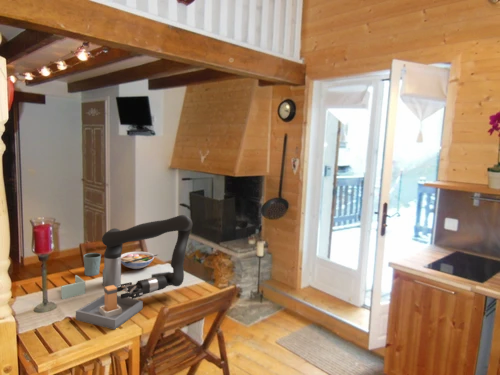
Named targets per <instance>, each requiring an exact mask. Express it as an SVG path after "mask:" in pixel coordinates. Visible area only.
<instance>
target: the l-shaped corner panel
mask: <svg viewBox="0 0 500 375" xmlns="http://www.w3.org/2000/svg"><path fill="white" fill-rule="evenodd" d="M74 278H75V279H74V281H75V282H74V283H70V284H66V285H62V286H61V288H60V289H61V300H65V299H66V300H67V299H70V298H73V297H77V296H81V295H85V294H86V281H85V280H84V279H83V278H81V277H80V276H79V275H77V274H75V275H74Z"/></svg>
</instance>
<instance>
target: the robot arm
mask: <svg viewBox="0 0 500 375" xmlns="http://www.w3.org/2000/svg"><path fill="white" fill-rule="evenodd" d="M193 225H194V224H193V220H192V219H191V218H190V217H189V216H187V215H186V214H181V215H177V216H173V217H170V218H167V219H162V220H161V219H160V220H154V221H149V222H144V223H140V224H138V225H134V226H132V227H129V228H127V229H123V230H120V229H118V228H115V227H114V228H110V229H109V230H108V231H107V232H105V233H104V234H103V235H102V237H101V238H102V239H101V242H102V244H103V245H104V246H106V247H105V251H104V254H103V255H104V257H103V259H104V260H103V264H104V266H103V269H102V285H103V286H104V288H105V287H107V286H111V285H114V286H115V287H117V293H119V292H125V293H121V294H120V296H121V299H123V298H132V299H136V298H140V297H143V296H144V295H147V294H152V293H154V292H157V291H161V290H163V289H166V287H169V286H173V287H179V286H181V285H182V284H183V282H184V279H185V278H184V277H185V273H184V272H185V270H184V264H185V256H186V251H187V246H188V241H189V237H190V234H191V232H192V228H193ZM170 232H177V240H176V243H175V246H174V248H173V251H172V255H171V261H170V267H171V268H172V272H168V273H165V274H163V275H160V276H154V277H149V278H145V279H140V280H137V281H136V283H135V284H134V283H133V282H131V281H130V282H126V283H122V263H121V255H122V252H123V244H125V243H130V242H137V241H143V240H148V239H154V238H157V237H160V236H161V235H163V234H167V233H170Z"/></svg>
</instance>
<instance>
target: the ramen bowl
mask: <svg viewBox="0 0 500 375" xmlns="http://www.w3.org/2000/svg"><path fill="white" fill-rule="evenodd" d="M156 256H157V257H158V254H153V253H152V252H148V251H129V252H125V253H121V265H123V266H124V267H126V268H129V269H133V270H140V269H143V268H145V267H148V266H149V265H150V264H151V263H152V262H153V261H154V258H155V257H156Z"/></svg>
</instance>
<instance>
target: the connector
mask: <svg viewBox="0 0 500 375" xmlns="http://www.w3.org/2000/svg"><path fill="white" fill-rule="evenodd" d="M117 287H118V286H117ZM117 287H115V286H114V285H111V286H107V287H105V286H104V288H103V289H104V294H105V304H104V310H105V311H107V312H108V311H111V310H115V309H117V295H118V292H117Z"/></svg>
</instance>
